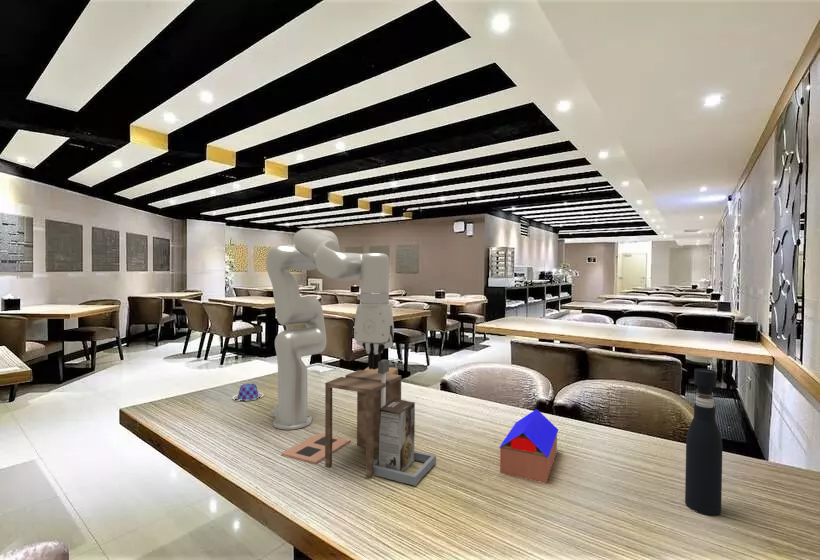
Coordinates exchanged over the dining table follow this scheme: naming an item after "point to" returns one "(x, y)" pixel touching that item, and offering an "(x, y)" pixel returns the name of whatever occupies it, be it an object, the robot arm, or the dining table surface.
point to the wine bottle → (704, 450)
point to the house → (529, 448)
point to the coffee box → (397, 435)
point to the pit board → (314, 448)
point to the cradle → (419, 456)
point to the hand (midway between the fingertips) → (374, 368)
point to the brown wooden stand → (362, 409)
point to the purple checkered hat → (248, 392)
